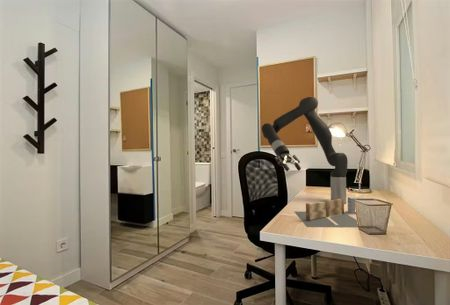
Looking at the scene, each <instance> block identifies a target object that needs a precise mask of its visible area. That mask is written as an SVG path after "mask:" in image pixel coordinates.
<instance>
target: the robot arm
mask: <svg viewBox="0 0 450 305" xmlns="http://www.w3.org/2000/svg"><path fill="white" fill-rule="evenodd" d="M318 106H319V100H318V99H317V98H316V97H315V96H307V97H304V98H302V99H300V101H299V104H298V106H296V107H295V108H294V109H291V110H290V111H287V112H286V113H284V114H281V115H280V116H279V117H277V118H275V120H273V123H272V124H270V123H268V122H267V123H264V124H262V125H261V132H262V135H263V137H264V139H267V142H268V144H269V146H270V147H271V149H272V151H273V153H274V154H275V155H276V156H275V157H274V160H275V161H276V163H277V165H278V166H281V167H283V169H284V170H285V172H288V171H290V167H289V165H288V164H291V165H292V166H294V167H295V169H296V170H297V171H301V169H302V167H301V165H300V163H301V161H300V159H299V158H298V157H297V156H296V155H295V154H293V155H291V154H290V149H288V147H287V145H286V144H285V142H283V141H282V139H281V138H280V137H279V135H278V133H279V132H280V131H281V130H282V129H283V128H285V127H287V126H288V125H289V124H291V123H292V122H294V121H295V120H297V119H299V118H300V117H302V116H304V117H305V119H306V120H307V122H308V124H309V126H310V127H311V130H312V132H313V133H314V136H315V137H316V139H317V141H318V143H319V145H320V147H321V149H322V151H323V153H324V156H325V158H326V161H327V162H328V164H329V165H330V166H332V167H334V169H333V171H331V172H330V201H331V200H337V199H340V198H344V205H345V204H347V174H348V163H349V162H348V157H347V154H345V153H344V152H336V151H335V148H334V147H333V142H332V141H333V137H332V136H333V135H332V131H331V130H330V128H329V126H328V125H327V123H326V122H325V121H324V120H323V119H322V118H321V117H320V116H319V115H318V114H317V112H316V109H317V108H318Z"/></svg>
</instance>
